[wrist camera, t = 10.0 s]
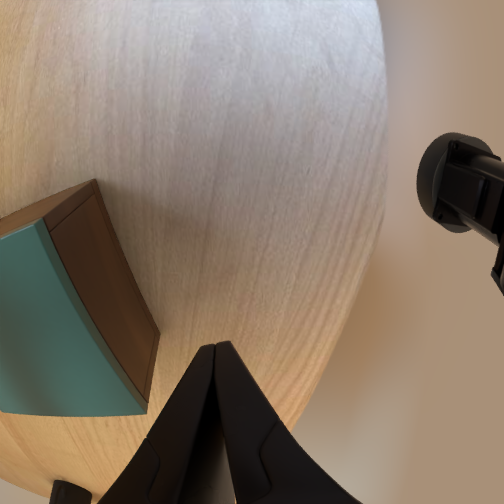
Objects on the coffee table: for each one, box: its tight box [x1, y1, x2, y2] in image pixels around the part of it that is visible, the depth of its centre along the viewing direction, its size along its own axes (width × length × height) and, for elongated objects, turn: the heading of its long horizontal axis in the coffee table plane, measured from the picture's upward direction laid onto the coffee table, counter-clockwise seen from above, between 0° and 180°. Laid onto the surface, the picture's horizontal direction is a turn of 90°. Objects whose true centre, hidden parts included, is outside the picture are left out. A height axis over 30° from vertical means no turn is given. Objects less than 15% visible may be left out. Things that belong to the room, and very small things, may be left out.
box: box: [0, 179, 160, 404], centre depth 17 cm, size 14×13×7 cm
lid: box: [0, 218, 148, 417], centre depth 14 cm, size 14×13×1 cm
